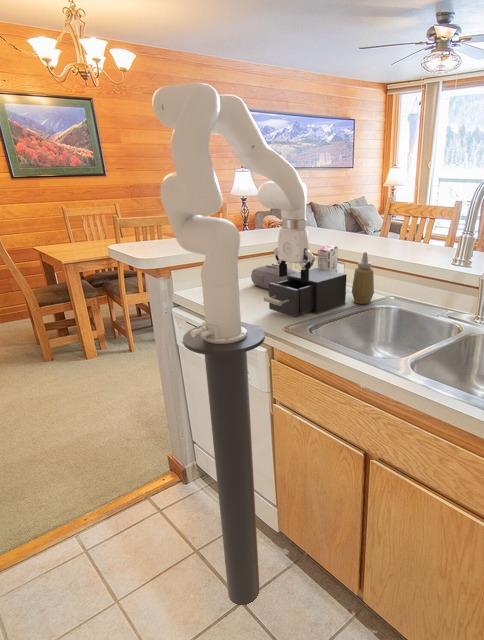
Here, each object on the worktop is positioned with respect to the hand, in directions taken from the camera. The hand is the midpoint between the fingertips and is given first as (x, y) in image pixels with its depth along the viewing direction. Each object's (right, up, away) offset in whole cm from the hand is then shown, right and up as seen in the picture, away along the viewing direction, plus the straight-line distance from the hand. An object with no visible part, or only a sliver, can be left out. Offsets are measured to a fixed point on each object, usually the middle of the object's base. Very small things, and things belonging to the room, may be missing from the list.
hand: (293, 278), depth 143 cm
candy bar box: (+11, +1, +31) cm, 33 cm away
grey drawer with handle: (-1, -10, +4) cm, 11 cm away
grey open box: (+7, -7, +13) cm, 16 cm away
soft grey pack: (-9, +3, +34) cm, 35 cm away
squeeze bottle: (+24, -6, +17) cm, 30 cm away
